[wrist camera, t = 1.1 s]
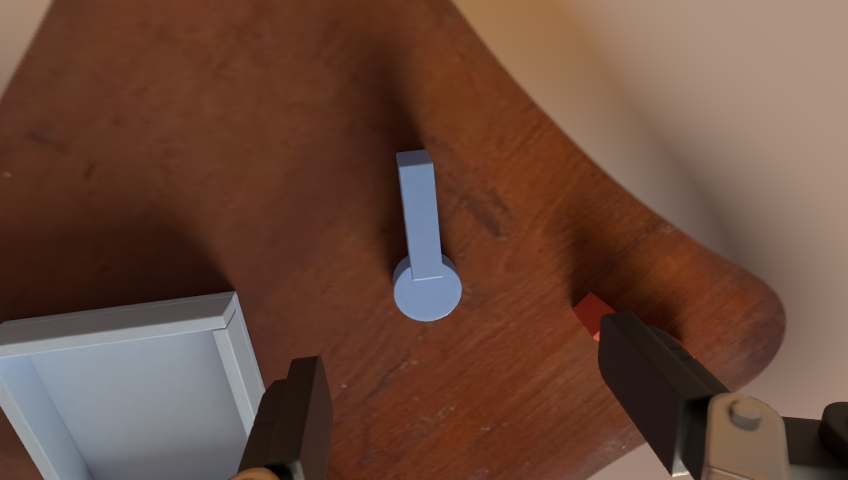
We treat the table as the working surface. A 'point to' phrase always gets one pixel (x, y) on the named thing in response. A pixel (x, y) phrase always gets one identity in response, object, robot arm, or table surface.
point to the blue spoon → (422, 245)
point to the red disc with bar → (596, 314)
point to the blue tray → (133, 390)
